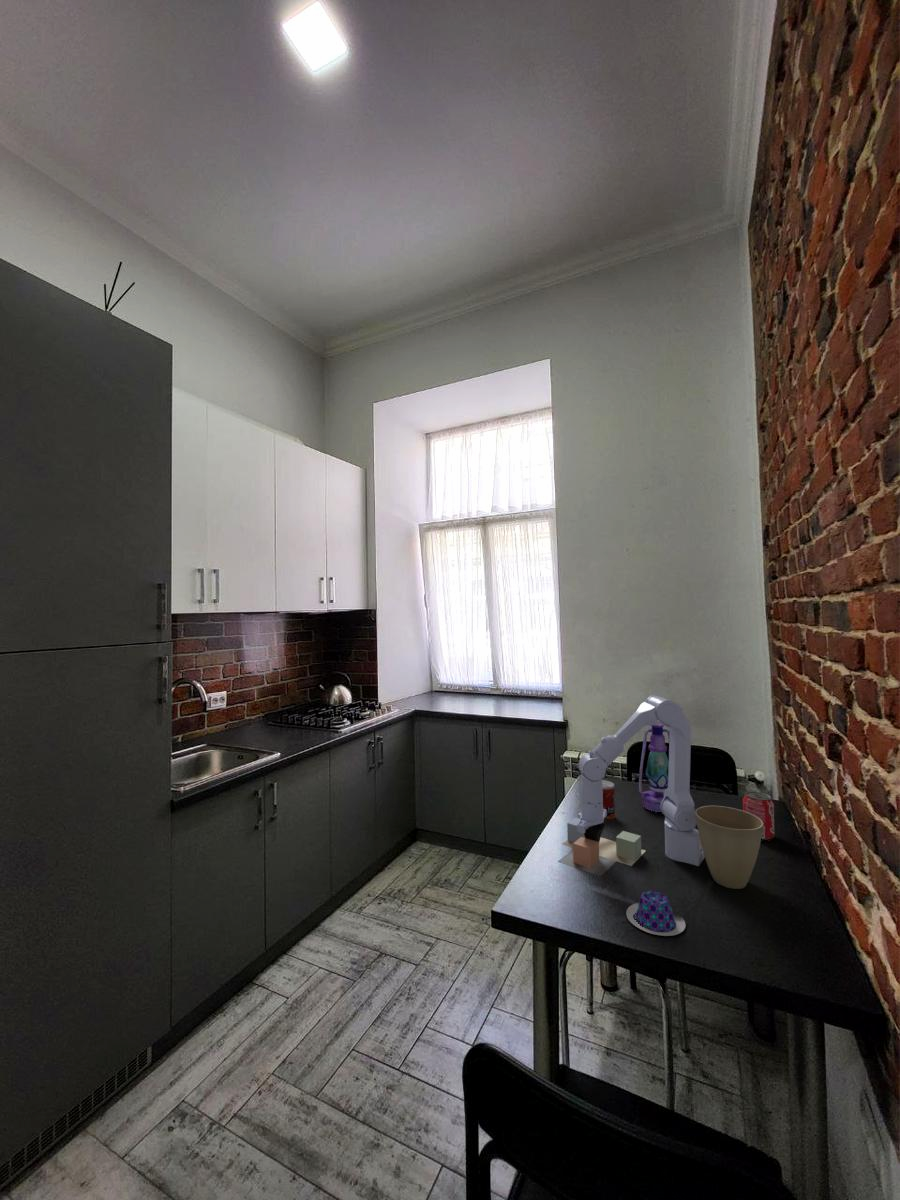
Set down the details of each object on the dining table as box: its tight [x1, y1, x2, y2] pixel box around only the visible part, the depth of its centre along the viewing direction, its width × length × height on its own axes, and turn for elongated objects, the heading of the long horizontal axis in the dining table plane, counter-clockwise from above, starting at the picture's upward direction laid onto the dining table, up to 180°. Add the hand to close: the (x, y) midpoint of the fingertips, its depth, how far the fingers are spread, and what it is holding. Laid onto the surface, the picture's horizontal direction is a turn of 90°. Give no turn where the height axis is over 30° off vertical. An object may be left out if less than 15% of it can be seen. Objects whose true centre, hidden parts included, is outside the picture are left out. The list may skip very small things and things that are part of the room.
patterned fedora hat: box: [625, 890, 686, 937], centre depth 109 cm, size 12×12×5 cm
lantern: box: [638, 720, 670, 813], centre depth 172 cm, size 13×12×30 cm
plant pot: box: [695, 805, 763, 890], centre depth 124 cm, size 15×15×16 cm
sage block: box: [615, 830, 642, 862], centre depth 136 cm, size 5×5×5 cm
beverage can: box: [742, 791, 776, 840], centre depth 150 cm, size 8×8×12 cm
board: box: [557, 837, 647, 877], centre depth 137 cm, size 20×21×1 cm
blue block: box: [566, 817, 585, 842], centre depth 146 cm, size 5×5×5 cm
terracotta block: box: [572, 837, 599, 868], centre depth 133 cm, size 5×5×5 cm
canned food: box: [602, 779, 616, 821], centre depth 165 cm, size 8×8×11 cm
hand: (592, 850), depth 136 cm, fingers closed
